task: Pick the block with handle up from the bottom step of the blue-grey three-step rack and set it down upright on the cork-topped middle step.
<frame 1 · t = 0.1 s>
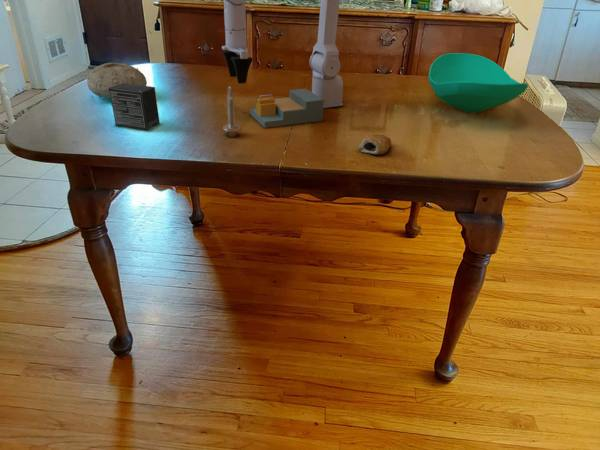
hand: (237, 79, 131), 10 cm above the table, tool pointing down, fingers open, 7 cm apart
pastry: (374, 150, 116), on the table
step rack: (286, 117, 135), on the table
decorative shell: (120, 97, 147), on the table
table top decor: (468, 109, 147), on the table
block with handle: (266, 114, 131), point 2 cm above the table, touching step rack
screw: (232, 135, 122), on the table
small box: (138, 125, 126), on the table
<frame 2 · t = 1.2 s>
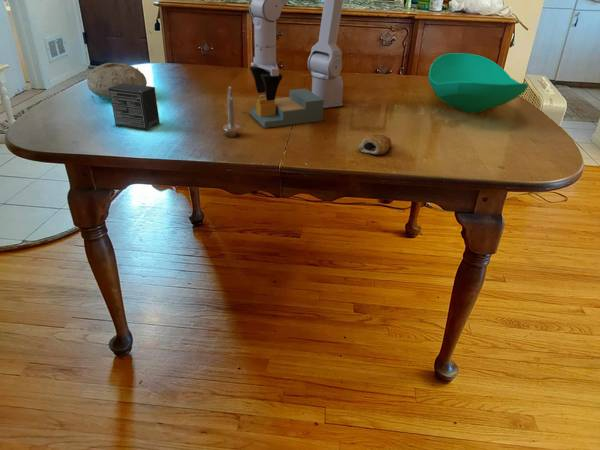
hand: (265, 96, 129), 7 cm above the table, tool pointing down, fingers open, 7 cm apart
nothing on the table moved.
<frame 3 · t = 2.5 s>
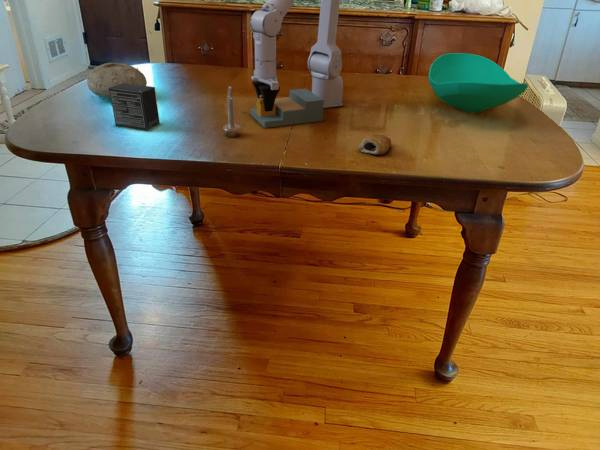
hand: (266, 108, 130), 3 cm above the table, tool pointing down, fingers closed on block with handle, 3 cm apart
block with handle: (266, 114, 131), point 2 cm above the table, touching gripper, step rack
everything else where it was.
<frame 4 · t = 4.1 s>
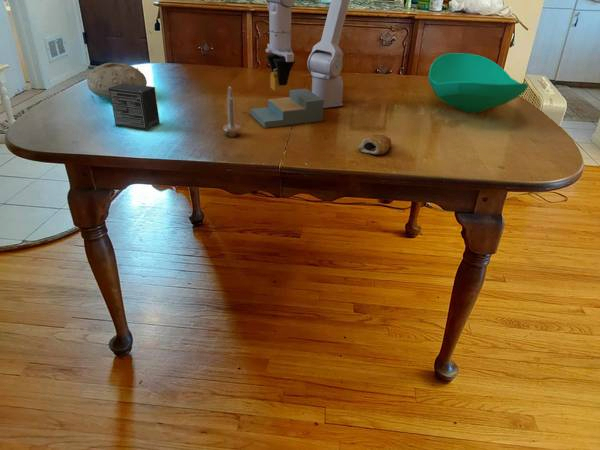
hand: (280, 82, 128), 10 cm above the table, tool pointing down, fingers closed on block with handle, 3 cm apart
block with handle: (280, 88, 129), point 9 cm above the table, touching gripper
everything else where it was.
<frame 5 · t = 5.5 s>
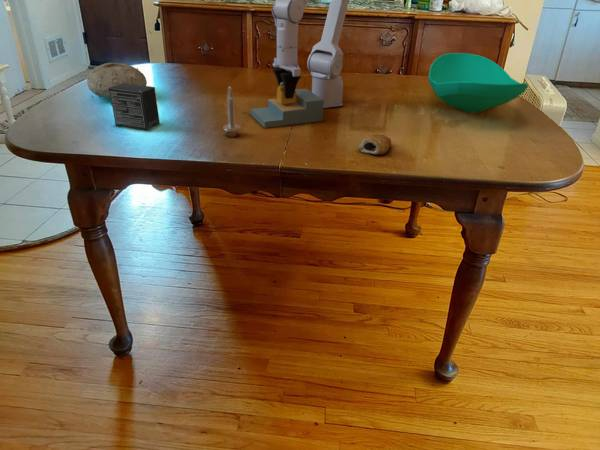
hand: (286, 96, 131), 6 cm above the table, tool pointing down, fingers closed on block with handle, 3 cm apart
block with handle: (286, 101, 132), point 5 cm above the table, touching gripper
everything else where it was.
when the fingers open (6 cm above the table, at t = 6.1 s): block with handle stays where it is, resting on step rack.
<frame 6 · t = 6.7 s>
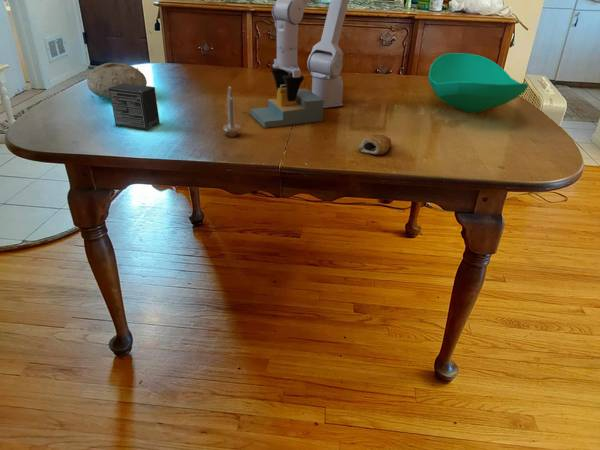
hand: (286, 97, 131), 6 cm above the table, tool pointing down, fingers open, 7 cm apart
block with handle: (286, 103, 132), point 4 cm above the table, touching step rack
everything else where it was.
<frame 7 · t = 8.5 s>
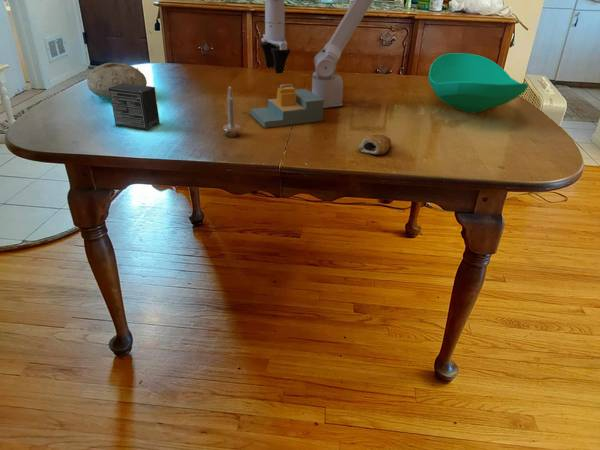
hand: (274, 70, 140), 10 cm above the table, tool pointing down, fingers open, 7 cm apart
nothing on the table moved.
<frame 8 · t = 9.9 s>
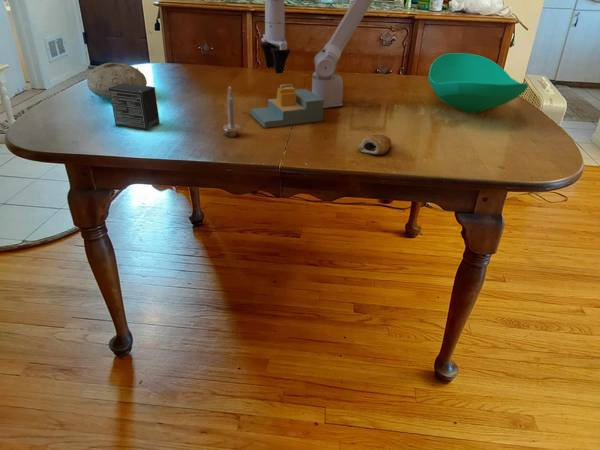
hand: (274, 70, 140), 10 cm above the table, tool pointing down, fingers open, 7 cm apart
nothing on the table moved.
at the end: block with handle inside the target area on the step rack (0.0 cm from its centre), point 4.2 cm above the step rack's base; block with handle tilted 0°; the gripper is holding nothing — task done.
